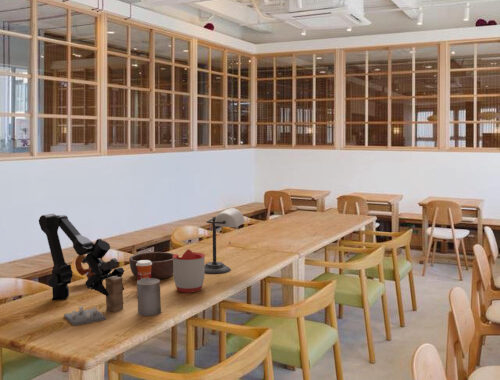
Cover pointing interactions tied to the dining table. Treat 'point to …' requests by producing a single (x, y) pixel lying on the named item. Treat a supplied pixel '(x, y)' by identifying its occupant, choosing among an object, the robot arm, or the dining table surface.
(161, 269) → the wooden bowl
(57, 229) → the robot arm
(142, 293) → the pillar candle
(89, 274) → the mug
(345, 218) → the dining table surface
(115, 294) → the walnut post
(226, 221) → the lamp
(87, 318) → the peg nest
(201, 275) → the citrus juicer
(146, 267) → the paper cup
